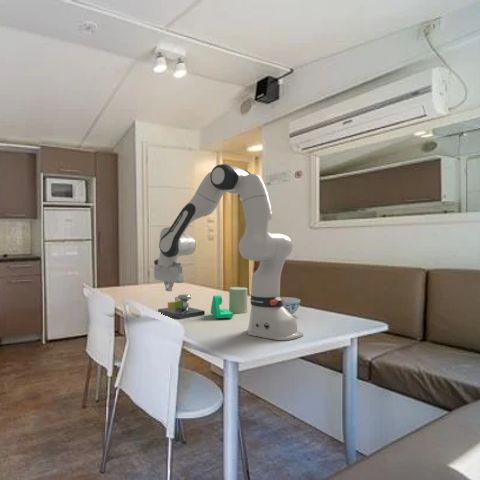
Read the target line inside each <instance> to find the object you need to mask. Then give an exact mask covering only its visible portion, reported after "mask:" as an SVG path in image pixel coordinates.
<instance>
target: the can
mask: <svg viewBox="0 0 480 480" xmlns="http://www.w3.org/2000/svg"><path fill="white" fill-rule="evenodd" d="M228 290H229V291H228V293H229V296H228V297H229V298H228V299H229V301H228V302H229V303H228V306H229V307H228V310H229V311H230V312H232V313H233V314H245V313H248V288H247V287H243V286H236V287H235V286H233V287H229V288H228Z"/></svg>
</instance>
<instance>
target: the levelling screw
mask: <svg viewBox="0 0 480 480" xmlns="http://www.w3.org/2000/svg"><path fill="white" fill-rule="evenodd" d="M178 296H179V299H181V301H176V302H175V301H170V302H167V308H168V309H169V310H171V309H178V308H181V311H188V310H189V307H190V300H191V299H192V295H191V294H186V293H185V294H179V295H178Z"/></svg>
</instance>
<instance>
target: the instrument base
mask: <svg viewBox="0 0 480 480" xmlns="http://www.w3.org/2000/svg"><path fill="white" fill-rule="evenodd" d="M176 301H181V299H179V295H178V296H175V297H174V302H176ZM157 312H161V313H163V314H165V315H164V316H166V315H168V316H167V317H170V316H171V318H174V319H179V320H183V319H190V318H195V317H201V316H205V315H206V314H205V310H203V309H199V308H195V307H194V308H193V307H190V306H189V310H188V311H181V308H178V309H171V310H169V309H168V307H163V308H159V309H157ZM163 314H162V315H163Z"/></svg>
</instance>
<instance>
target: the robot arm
mask: <svg viewBox="0 0 480 480" xmlns="http://www.w3.org/2000/svg"><path fill="white" fill-rule="evenodd" d="M225 193H229V194H235V195H239V196H240V199H241V205H242V210H243V214H244V220H245V229H244V233H243V235H242V236H241V238H240V239H239V243H238V251H239V253H240V255H241V257H242V258H243V259H245V260H249V261H253V262H259V265H258V268H257V269H256V271H254V272H253V274H252V276H251V295H250V305H251V310H250V314H249V315H250V316H249V323H248V326H247V327H248V328H247V330H246V331H247V335H248V336H254V337H259V338H264V339H270V340H275V341H291V340H295V339H298V338H301V337H303V336H304V332H303V331H301V330H298V323H297V319H296V318H295V317H294V315H293V314H290V313H289V312H288V311H287V310H286V309H285V307H284V306H283V302H285V301H283V300H285V299H282V298H281V297H282V296H281V295H280V294H281V276H282V272H283V271H282V270H283V268H284V265H285V262H286V259H287V258H288V257H289V256H290V254H291V253H292V251H293V243H292V239H291V237H289V236H288V235H286V234H283V233H280V232H269V222H270V221H271V220H272V218H273V215H274V214H273V210H272V209H273V208H272V205H271V201H270V197H269V194H268V193H269V192H268V191H267V187H266V185H265V182H264V180H263V178H262V177H261V176H260V175H259V174H256V173H252V172H250V171H247V170H246V169H245V170H244V169H242V168H240V167H238V166H234V165H229V164H226V163H225V164H223V163H222V164H217V165H215V166H214V167H213V168H212V170H211V171H210V172H208V173H207V174H206V175H205V176H204V177H203V179H202V181H201V182H200V184H199V186H198V187H197V189H196V191H195V193H194V195H192V197H191V199H190V201H188V203H186V205H184V207H182V209H181V210H180V212H179V214H178V215H177V216H176V218H175V219H174V221H173V223H171V224H172V225H171V226H170V227H164V228H163V229H161V230H160V233H159V244H158V246H159V250H160V251H159V257H158V258H156V259H154V260H153V265H154V267H153V277H154V280H156V281H161V282H163V285H164V287H165V291H166V292H173V287H174V285H175V284H183V283H184V282H185V272H184V268H183V265H182V264H181V263H180V262H179V257H182V256H190V255H191V254H193V253H194V252H195V250H196V245H197V243H196V239H195V238H194V237H193V236H192V235H190V234H187V233H186V231H187V229H188V227H189V225H190V224H191V223H193V222H194V221H196V220H199V219H201V218H203V217H204V218H205V217H207V216H210V215H212V213H213V212H214V211H215V210H216V209H217V207H218V205H219V203H220V202H221V199H222V197H223V195H224V194H225Z"/></svg>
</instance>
